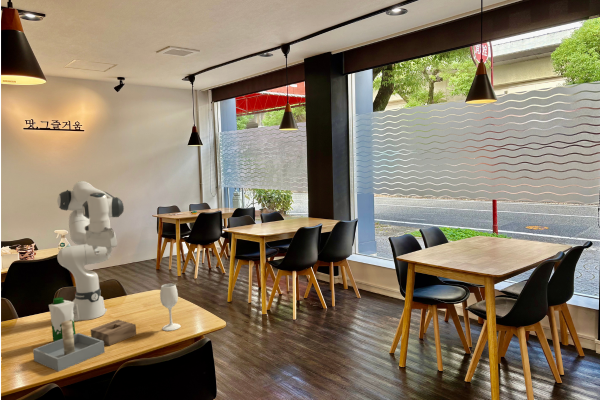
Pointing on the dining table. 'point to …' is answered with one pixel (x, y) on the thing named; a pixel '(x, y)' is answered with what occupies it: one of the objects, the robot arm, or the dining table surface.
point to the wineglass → (169, 303)
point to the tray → (55, 357)
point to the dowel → (68, 337)
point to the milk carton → (60, 316)
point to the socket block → (114, 332)
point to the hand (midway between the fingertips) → (102, 255)
